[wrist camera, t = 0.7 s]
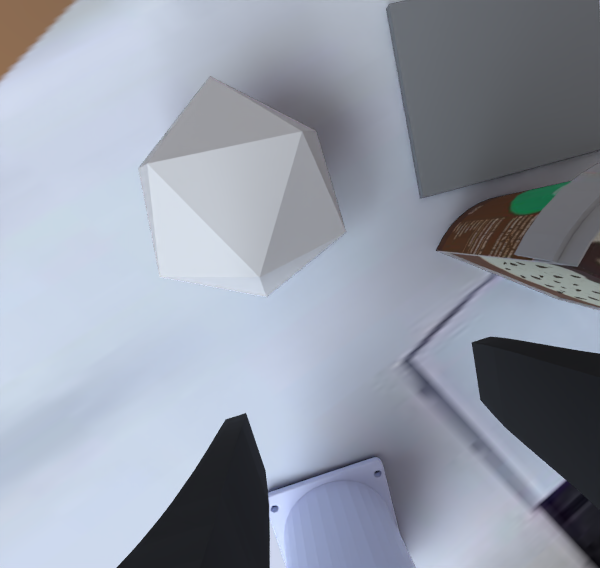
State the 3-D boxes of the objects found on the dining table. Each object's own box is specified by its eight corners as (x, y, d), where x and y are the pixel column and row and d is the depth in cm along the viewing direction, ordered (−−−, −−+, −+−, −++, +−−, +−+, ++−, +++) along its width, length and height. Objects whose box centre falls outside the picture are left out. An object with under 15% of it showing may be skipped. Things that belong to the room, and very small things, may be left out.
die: (309, 114, 19) (169, -31, 10) (399, 233, 16) (313, 170, 8) (216, 211, 22) (49, 159, 13) (280, 323, 19) (126, 348, 11)
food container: (617, 218, 22) (909, 215, 12) (574, 306, 23) (817, 369, 13) (456, 141, 20) (656, 61, 10) (414, 242, 20) (562, 260, 11)
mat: (601, 148, 21) (608, 147, 20) (420, 198, 20) (423, 197, 20) (589, -37, 19) (596, -42, 18) (386, 9, 18) (389, 3, 17)
